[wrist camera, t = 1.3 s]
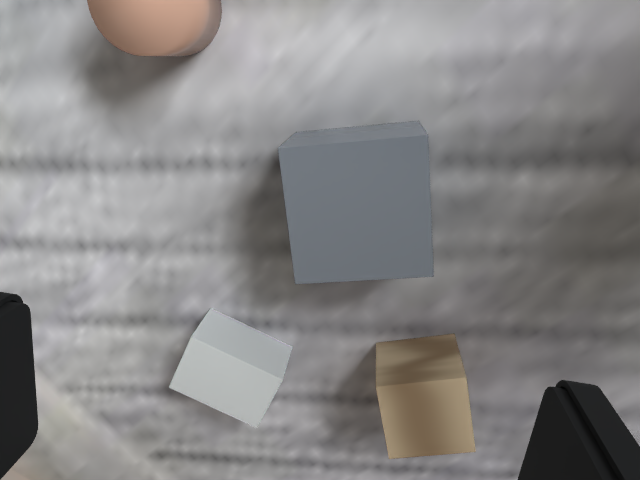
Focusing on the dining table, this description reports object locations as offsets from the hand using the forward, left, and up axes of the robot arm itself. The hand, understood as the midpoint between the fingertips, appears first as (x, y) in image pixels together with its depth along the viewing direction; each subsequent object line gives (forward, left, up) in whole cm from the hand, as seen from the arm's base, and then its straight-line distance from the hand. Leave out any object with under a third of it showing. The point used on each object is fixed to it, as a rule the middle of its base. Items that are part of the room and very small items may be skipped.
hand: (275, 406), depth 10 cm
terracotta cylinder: (+10, -8, -23) cm, 26 cm away
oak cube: (-6, +13, -23) cm, 27 cm away
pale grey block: (+6, +13, -23) cm, 27 cm away
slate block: (-1, +1, -23) cm, 23 cm away
